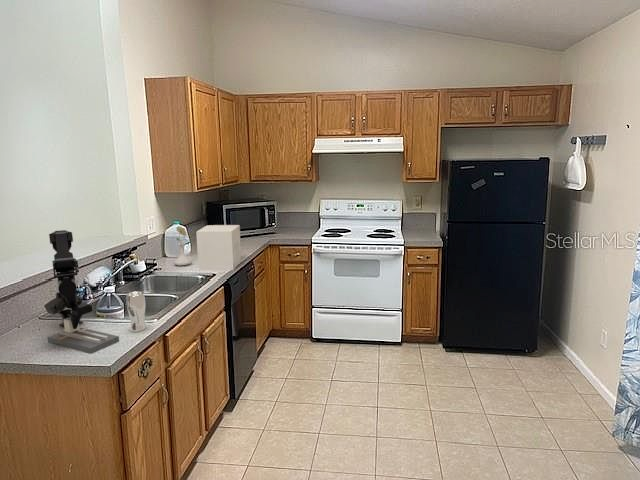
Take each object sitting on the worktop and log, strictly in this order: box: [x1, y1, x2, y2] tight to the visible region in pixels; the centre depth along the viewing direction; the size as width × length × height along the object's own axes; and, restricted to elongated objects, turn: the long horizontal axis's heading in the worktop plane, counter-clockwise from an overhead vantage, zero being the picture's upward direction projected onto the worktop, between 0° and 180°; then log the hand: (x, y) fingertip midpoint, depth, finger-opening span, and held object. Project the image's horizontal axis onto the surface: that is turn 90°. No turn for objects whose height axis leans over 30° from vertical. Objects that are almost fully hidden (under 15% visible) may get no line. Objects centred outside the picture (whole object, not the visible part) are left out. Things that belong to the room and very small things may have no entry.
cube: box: [195, 224, 242, 271], centre depth 289 cm, size 25×21×24 cm
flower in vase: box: [173, 225, 193, 266], centre depth 292 cm, size 13×11×25 cm
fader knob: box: [63, 317, 81, 333], centre depth 175 cm, size 3×4×6 cm
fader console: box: [47, 326, 120, 354], centre depth 173 cm, size 24×12×3 cm, turn 64°
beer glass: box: [126, 291, 147, 333], centre depth 184 cm, size 7×7×15 cm
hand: (72, 328), depth 175 cm, fingers closed on fader knob, 3 cm apart
